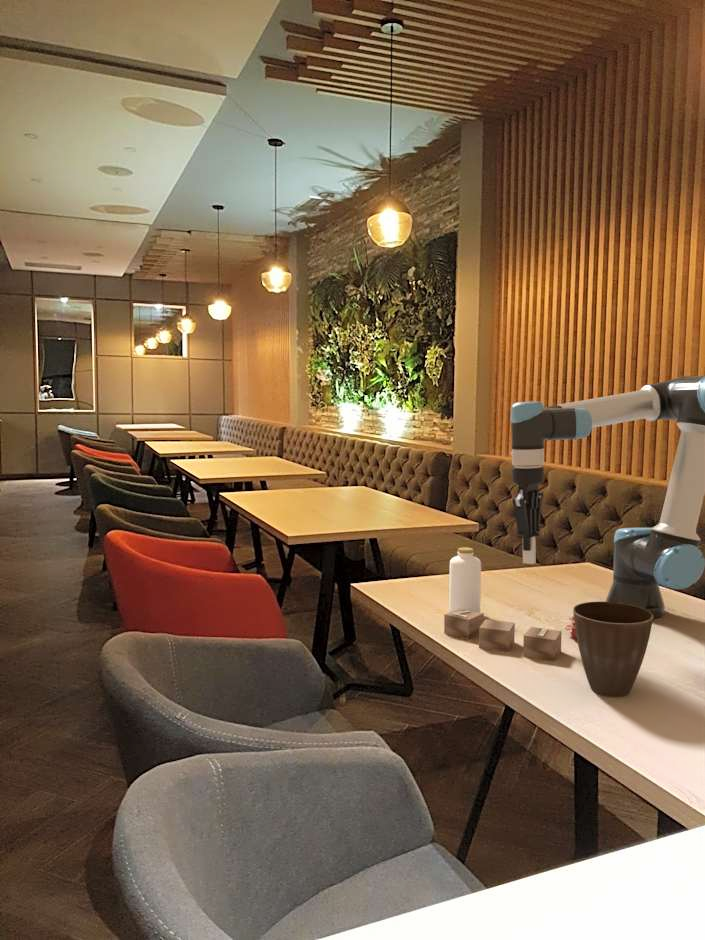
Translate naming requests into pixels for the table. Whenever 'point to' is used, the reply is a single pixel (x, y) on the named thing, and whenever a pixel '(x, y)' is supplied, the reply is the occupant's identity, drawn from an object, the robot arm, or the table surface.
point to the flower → (572, 627)
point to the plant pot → (612, 644)
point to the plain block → (496, 635)
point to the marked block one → (542, 643)
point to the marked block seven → (463, 623)
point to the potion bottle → (465, 581)
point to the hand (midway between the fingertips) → (529, 562)
